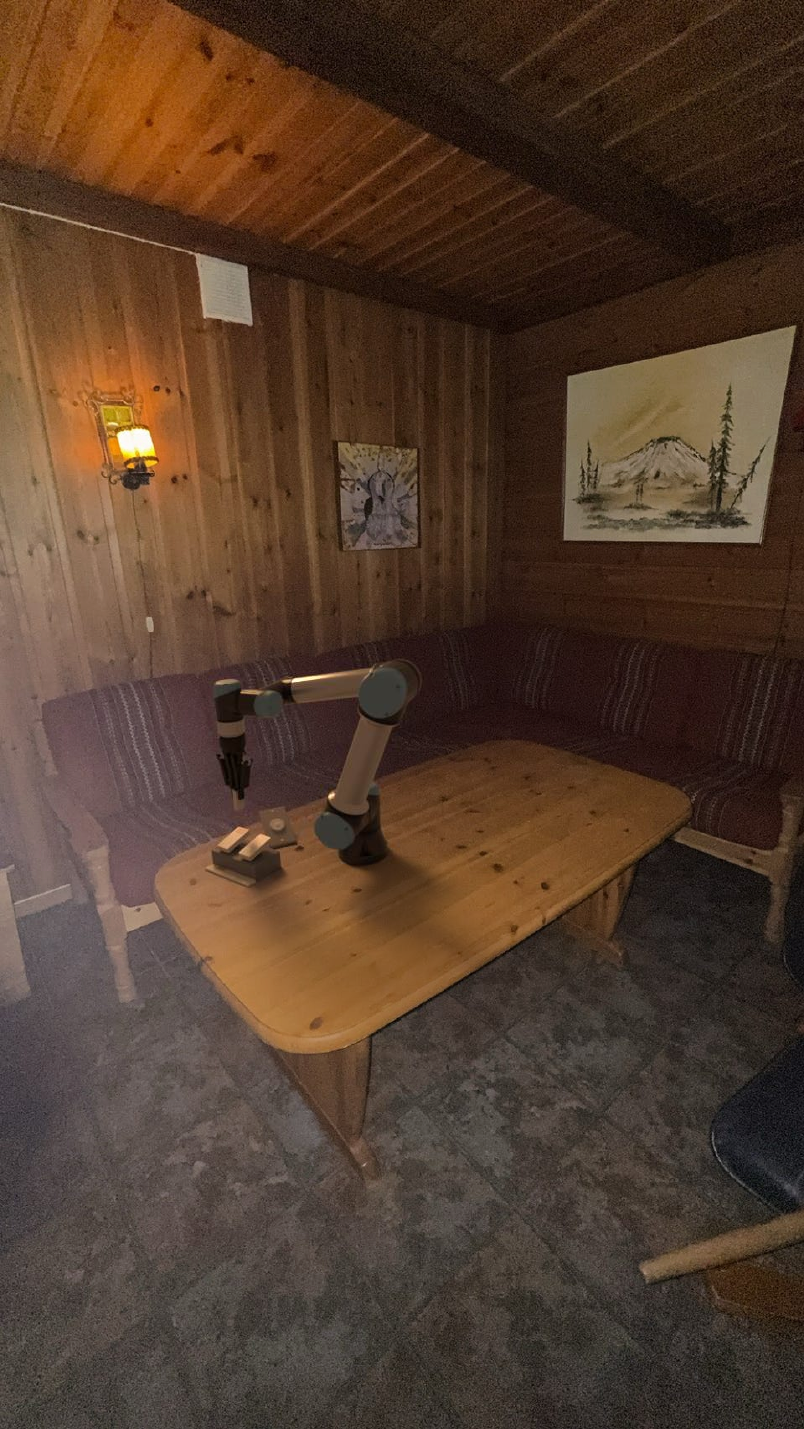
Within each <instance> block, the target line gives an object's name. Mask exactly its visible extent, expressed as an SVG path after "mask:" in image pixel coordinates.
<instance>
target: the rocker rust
mask: <svg viewBox="0 0 804 1429" xmlns="http://www.w3.org/2000/svg"><path fill="white" fill-rule="evenodd" d="M250 835H251V832H250V830H249V829H247V828H244V827H241V826H237V827H236V828H235V829H234V830H233V831H232V832H231V833H229V834H228V835H227V836H226V837H225V838H224V839H223V840H221V842H219V843H218V844H217V845H216V847H218V849H219V850H221V851H224V852H227V853H230V852H231V851H232V850H233V849H234V848H236V847H237V846H238V845H239V844H240V843H241V842H242V841H243V840H244V839H246V840H247V838H248V837H249V836H250Z"/></svg>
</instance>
